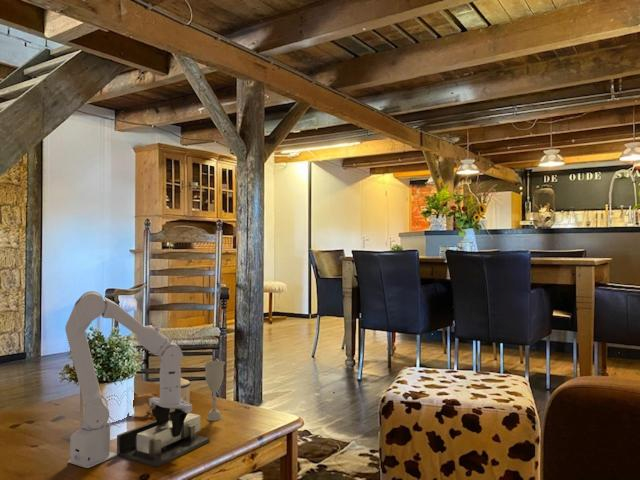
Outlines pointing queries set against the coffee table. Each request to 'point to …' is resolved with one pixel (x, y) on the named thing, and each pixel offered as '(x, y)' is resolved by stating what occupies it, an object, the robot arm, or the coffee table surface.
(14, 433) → the coffee table surface
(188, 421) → the cream rectangular block
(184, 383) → the teacup with lid
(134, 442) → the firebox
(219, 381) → the chalice
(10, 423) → the coffee table surface
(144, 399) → the lion figurine
